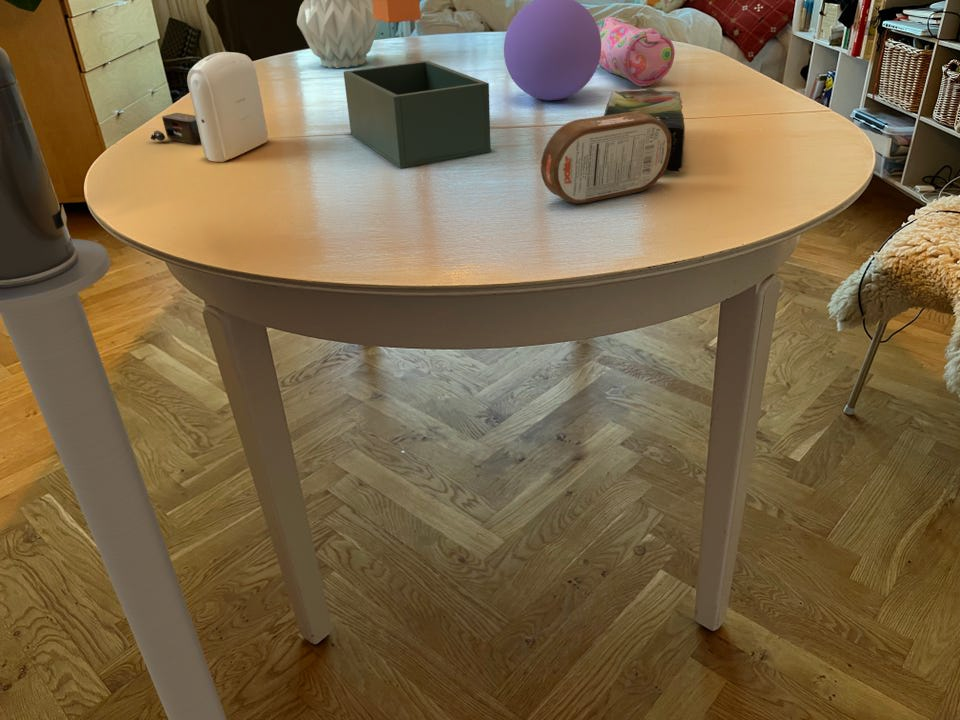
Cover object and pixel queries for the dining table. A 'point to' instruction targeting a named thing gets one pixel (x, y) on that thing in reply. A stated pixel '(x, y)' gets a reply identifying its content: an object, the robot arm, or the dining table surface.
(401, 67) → the trash bin
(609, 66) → the pencil case
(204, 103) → the photo printer
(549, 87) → the decorative ball
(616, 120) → the tin
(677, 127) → the juice carton
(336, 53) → the vase
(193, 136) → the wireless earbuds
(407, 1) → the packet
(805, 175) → the dining table surface
